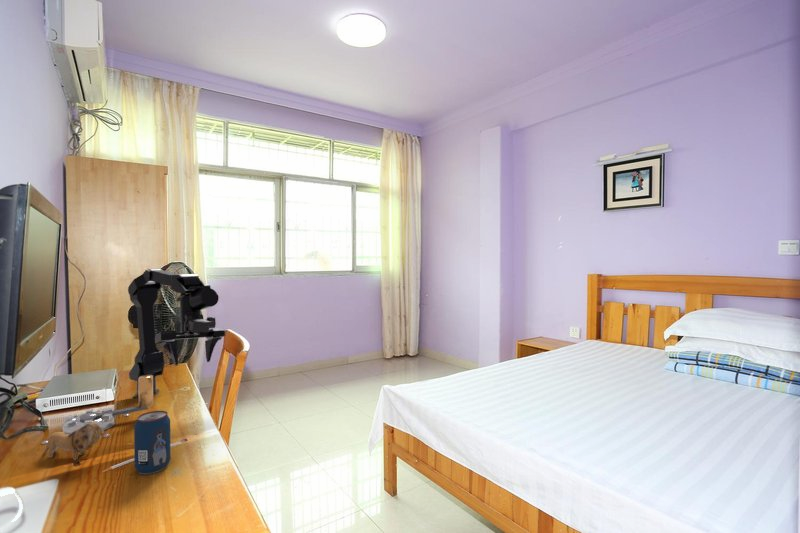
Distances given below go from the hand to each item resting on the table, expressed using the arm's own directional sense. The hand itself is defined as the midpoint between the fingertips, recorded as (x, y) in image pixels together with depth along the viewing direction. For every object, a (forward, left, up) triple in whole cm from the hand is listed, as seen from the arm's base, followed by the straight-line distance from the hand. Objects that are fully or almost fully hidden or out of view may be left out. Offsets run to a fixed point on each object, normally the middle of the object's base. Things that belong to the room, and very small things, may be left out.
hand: (192, 363), depth 119 cm
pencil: (+24, -5, -16) cm, 30 cm away
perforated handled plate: (+5, -20, -14) cm, 25 cm away
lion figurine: (+22, -21, -16) cm, 35 cm away
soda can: (+31, -2, -16) cm, 35 cm away
